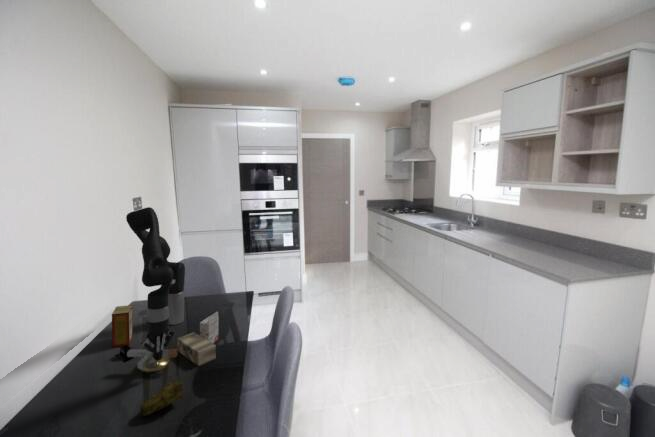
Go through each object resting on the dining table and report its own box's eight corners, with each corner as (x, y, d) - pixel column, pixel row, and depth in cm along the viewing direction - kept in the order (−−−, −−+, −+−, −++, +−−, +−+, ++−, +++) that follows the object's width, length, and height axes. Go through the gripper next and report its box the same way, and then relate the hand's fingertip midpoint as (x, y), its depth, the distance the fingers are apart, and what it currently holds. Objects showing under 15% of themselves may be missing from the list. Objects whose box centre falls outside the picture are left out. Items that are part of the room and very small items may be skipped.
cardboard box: (174, 351, 137) (174, 339, 137) (193, 344, 145) (194, 332, 144) (196, 367, 127) (196, 353, 126) (215, 358, 134) (215, 345, 133)
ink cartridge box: (209, 337, 151) (210, 309, 150) (218, 339, 150) (219, 310, 149) (199, 346, 143) (199, 316, 141) (208, 348, 142) (208, 318, 140)
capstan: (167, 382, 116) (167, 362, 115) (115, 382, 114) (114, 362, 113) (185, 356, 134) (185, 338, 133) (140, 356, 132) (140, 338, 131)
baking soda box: (129, 344, 141) (128, 311, 140) (112, 347, 139) (111, 313, 137) (132, 335, 150) (132, 304, 148) (116, 337, 147) (116, 305, 145)
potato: (142, 404, 104) (142, 382, 104) (183, 395, 110) (184, 374, 109) (139, 421, 97) (138, 398, 96) (183, 411, 102) (183, 389, 101)
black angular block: (141, 358, 132) (141, 348, 132) (123, 366, 126) (123, 355, 125) (127, 349, 138) (127, 339, 138) (109, 356, 132) (109, 346, 132)
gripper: (147, 326, 110) (147, 371, 112) (179, 313, 122) (179, 354, 124) (134, 321, 113) (135, 365, 115) (167, 309, 125) (167, 349, 127)
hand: (158, 359), depth 119 cm, fingers closed
